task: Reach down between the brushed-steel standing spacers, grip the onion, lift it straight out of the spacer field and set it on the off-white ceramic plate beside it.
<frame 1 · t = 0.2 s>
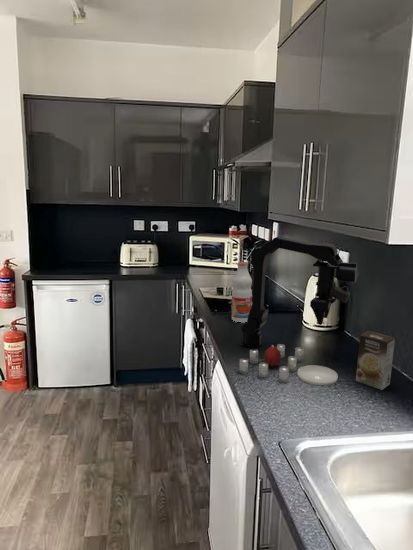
hand: (322, 321, 152), 14 cm above the table, tool pointing down, fingers open, 9 cm apart
coffee box: (372, 383, 136), on the table
onion: (272, 366, 148), on the table
fruit juice: (241, 320, 200), on the table
plate: (317, 376, 140), on the table
spacer field: (272, 366, 148), on the table
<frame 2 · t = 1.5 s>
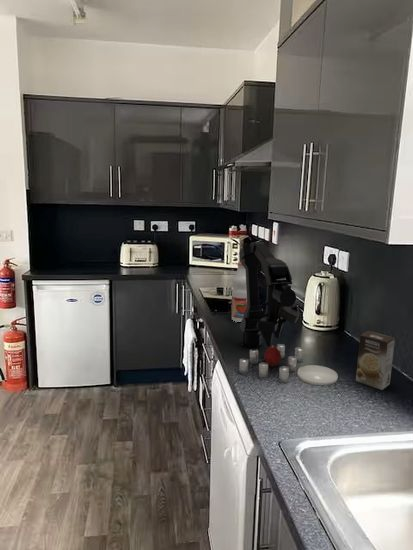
hand: (273, 341, 146), 9 cm above the table, tool pointing down, fingers open, 9 cm apart
nothing on the table moved.
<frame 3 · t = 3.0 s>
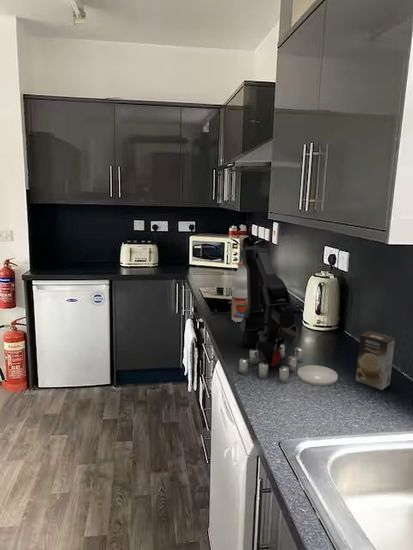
hand: (272, 361, 148), 2 cm above the table, tool pointing down, fingers closed on onion, 6 cm apart
onion: (272, 366, 148), on the table, touching gripper
everything else where it was.
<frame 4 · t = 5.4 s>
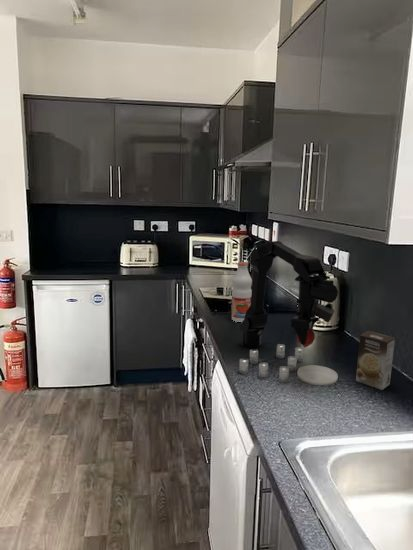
hand: (305, 341, 140), 12 cm above the table, tool pointing down, fingers closed on onion, 6 cm apart
onion: (305, 347, 140), point 10 cm above the table, touching gripper
everything else where it was.
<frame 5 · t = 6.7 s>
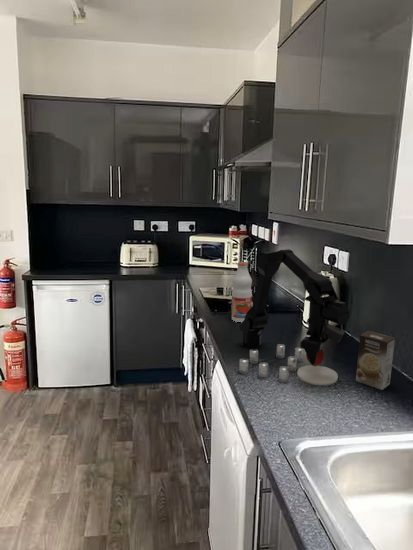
hand: (314, 361, 139), 5 cm above the table, tool pointing down, fingers closed on onion, 6 cm apart
onion: (314, 366, 140), point 3 cm above the table, touching gripper
everything else where it was.
when the fingers open (4 cm above the table, at t = 7.7 s): onion drops 1 cm, resting on plate.
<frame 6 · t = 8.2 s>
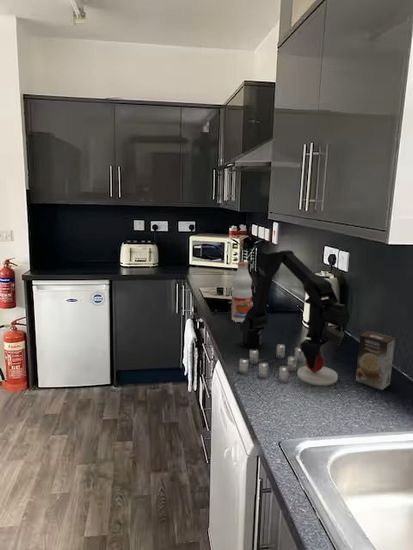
hand: (314, 363, 140), 4 cm above the table, tool pointing down, fingers open, 9 cm apart
onion: (314, 373, 140), point 1 cm above the table, touching plate
everything else where it was.
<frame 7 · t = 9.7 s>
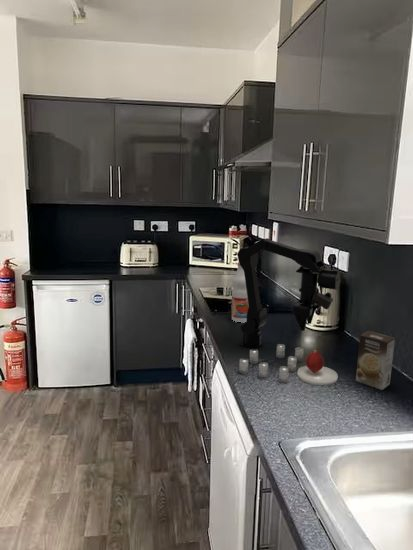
hand: (306, 327, 154), 12 cm above the table, tool pointing down, fingers open, 9 cm apart
nothing on the table moved.
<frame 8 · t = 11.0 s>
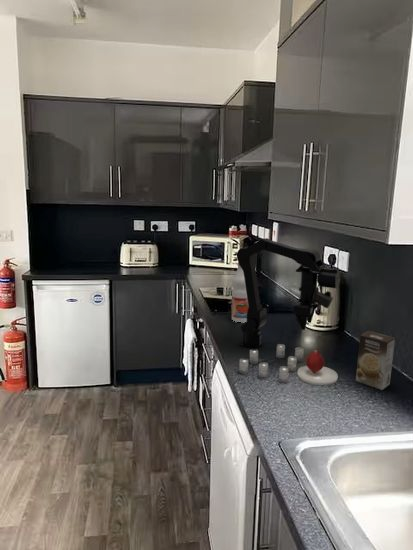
hand: (306, 326, 154), 12 cm above the table, tool pointing down, fingers open, 9 cm apart
nothing on the table moved.
at the end: onion inside the target area on the plate (1.1 cm from its centre), point 1.0 cm above the plate's base; onion touching plate; the gripper is holding nothing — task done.
